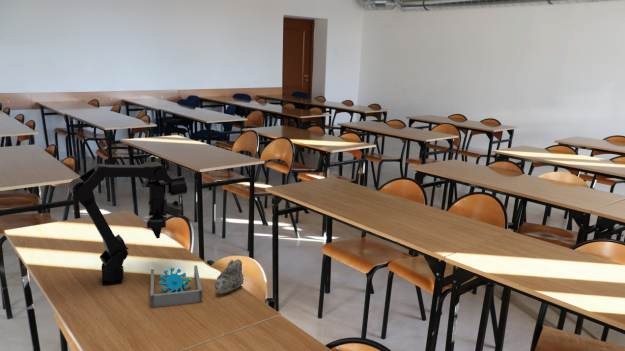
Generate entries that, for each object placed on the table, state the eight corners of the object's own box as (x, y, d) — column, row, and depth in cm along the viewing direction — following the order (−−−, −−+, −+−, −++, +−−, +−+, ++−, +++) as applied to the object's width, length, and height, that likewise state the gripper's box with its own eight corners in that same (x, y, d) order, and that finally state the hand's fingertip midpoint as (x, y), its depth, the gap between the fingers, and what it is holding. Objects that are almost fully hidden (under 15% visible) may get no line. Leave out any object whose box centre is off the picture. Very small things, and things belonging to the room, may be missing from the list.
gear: (161, 296, 152) (158, 267, 156) (156, 302, 156) (153, 274, 160) (194, 293, 158) (190, 265, 162) (188, 299, 162) (185, 272, 167)
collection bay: (150, 307, 148) (150, 296, 147) (151, 279, 166) (150, 269, 165) (202, 301, 153) (202, 290, 152) (197, 275, 171) (196, 265, 170)
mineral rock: (217, 298, 156) (217, 271, 153) (204, 285, 164) (204, 259, 162) (251, 289, 163) (252, 263, 160) (238, 277, 171) (238, 252, 169)
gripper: (180, 204, 160) (180, 246, 164) (180, 190, 178) (180, 228, 181) (146, 205, 157) (147, 248, 161) (149, 190, 175) (150, 229, 178)
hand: (158, 237), depth 171 cm, fingers closed
